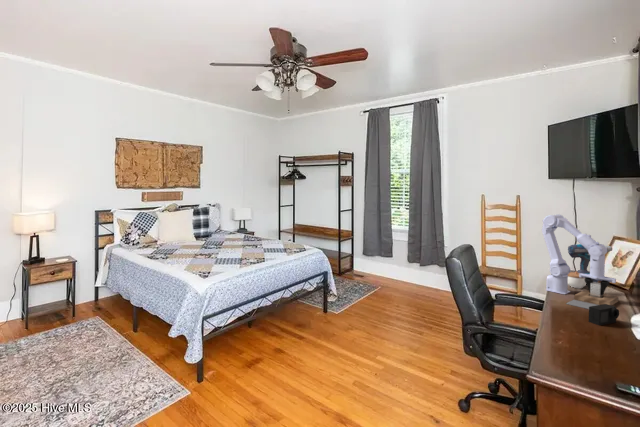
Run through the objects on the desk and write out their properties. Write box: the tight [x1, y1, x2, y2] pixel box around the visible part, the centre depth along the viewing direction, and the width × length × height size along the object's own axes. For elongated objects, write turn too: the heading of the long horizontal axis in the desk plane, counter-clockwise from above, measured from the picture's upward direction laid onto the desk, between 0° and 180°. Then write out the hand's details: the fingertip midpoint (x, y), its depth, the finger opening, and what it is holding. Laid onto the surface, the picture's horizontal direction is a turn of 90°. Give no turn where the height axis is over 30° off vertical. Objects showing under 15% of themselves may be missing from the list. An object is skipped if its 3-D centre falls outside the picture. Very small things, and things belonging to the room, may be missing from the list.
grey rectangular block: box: [590, 282, 603, 298], centre depth 165 cm, size 4×4×9 cm
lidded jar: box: [568, 270, 587, 289], centre depth 189 cm, size 11×11×9 cm
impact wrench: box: [567, 243, 613, 283], centre depth 194 cm, size 8×23×25 cm, turn 78°
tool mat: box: [565, 299, 597, 310], centre depth 158 cm, size 14×10×1 cm
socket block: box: [574, 289, 620, 306], centre depth 166 cm, size 14×14×2 cm
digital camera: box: [588, 304, 620, 326], centre depth 138 cm, size 10×5×7 cm, turn 106°
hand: (596, 293), depth 165 cm, fingers closed on grey rectangular block, 4 cm apart
